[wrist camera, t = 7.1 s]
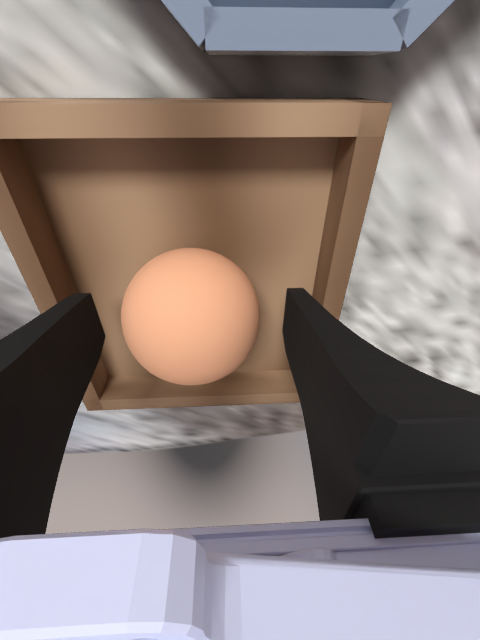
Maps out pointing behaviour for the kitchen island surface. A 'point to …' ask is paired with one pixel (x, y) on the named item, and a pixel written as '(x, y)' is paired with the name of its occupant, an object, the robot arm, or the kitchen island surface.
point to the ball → (190, 316)
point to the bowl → (305, 25)
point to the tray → (187, 214)
